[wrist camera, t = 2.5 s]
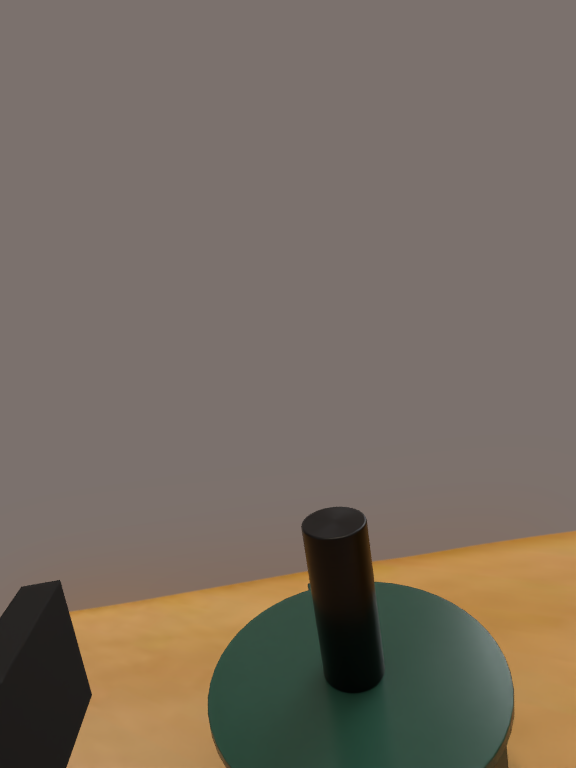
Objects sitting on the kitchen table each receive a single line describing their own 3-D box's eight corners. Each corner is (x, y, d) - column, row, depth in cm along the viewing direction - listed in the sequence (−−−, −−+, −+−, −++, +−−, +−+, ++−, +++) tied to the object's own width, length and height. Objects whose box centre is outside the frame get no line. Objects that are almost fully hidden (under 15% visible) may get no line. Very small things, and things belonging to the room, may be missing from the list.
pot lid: (200, 882, 17) (148, 665, 15) (218, 622, 29) (190, 484, 27) (587, 804, 18) (582, 585, 16) (446, 581, 30) (434, 443, 28)
